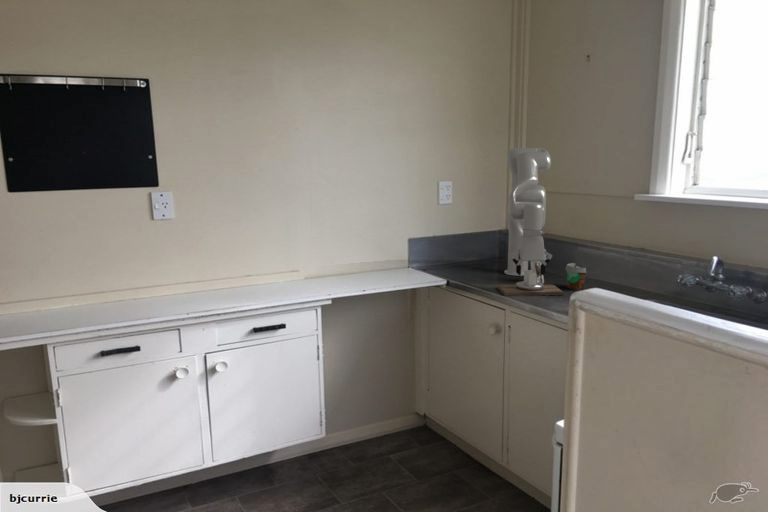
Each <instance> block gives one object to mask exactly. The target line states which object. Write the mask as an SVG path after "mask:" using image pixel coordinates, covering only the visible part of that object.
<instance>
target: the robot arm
mask: <svg viewBox="0 0 768 512" xmlns="http://www.w3.org/2000/svg"><path fill="white" fill-rule="evenodd" d="M551 157H552V156H551V154H550V153H549V151H548V150H547V149H546V148H544V147H515V148H511V149H509V150H508V152H507V163H508V166H509V169H510V173H511V190H510V193H509V195H508V196H509V197H508V213H507V224H508V249H507V250H508V251H507V252H508V253H507V269H505V270H504V271H503V273H504V274H505V275H508V276H516V277H519V276H520V277H524V270H529V262H530V261H540V262H541V263H542V265H541V268H540V274H541V275H544V276H545V273H546V266H547V265H548V264H549V263H550V261H551V259H552V258H553V254H551V253H550V252H549V251H547V250H546V251H544V249H545V244H544V241H545V240H544V237H543V236H542V235H545V234H546V231H545V230H543V229H542V228H544V226H545V224H546V216H547V214H546V212H547V192H546V191H547V190H546V188H545V187H544V186H543V185H540V184H539V176H538V175H539V173H538V172H548V171H549V170H550V168H551V165H552V158H551ZM538 184H539V185H538ZM544 254H545V255H546V260H545V261H544Z"/></svg>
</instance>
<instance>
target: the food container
mask: <svg viewBox="0 0 768 512" xmlns="http://www.w3.org/2000/svg"><path fill="white" fill-rule="evenodd" d="M565 271H566V286H567V289H568V288H569V289H568V290H571V289H574V290H573V291H578V290H577V289H579V290H583V289H585V282H586V274H587V268H586V267H581V266H578V265H576V262H574V263H573V262H571V263H567V265H566V266H565Z"/></svg>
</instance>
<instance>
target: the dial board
mask: <svg viewBox="0 0 768 512" xmlns="http://www.w3.org/2000/svg"><path fill="white" fill-rule="evenodd" d="M543 284H544V286H543V289H542V290H523V289H519V288H517V287H516V284H508V283H507V284H503V283H502V284H497V287H496V288H497V289H498V290H499V291H500V292H501V294H503V296H505V297H509V296H510V297H513V296H514V297H515V296H516V297H517V296H518V295H565V294H564V292H565V291H563V290H561V289H560V288H559V287H557V286H556V285H555V284H548V283H547V284H545V283H543ZM518 297H519V296H518Z"/></svg>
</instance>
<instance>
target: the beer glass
mask: <svg viewBox="0 0 768 512" xmlns="http://www.w3.org/2000/svg"><path fill="white" fill-rule="evenodd" d="M544 251H546V252H547V249H546V248H544ZM546 259H547V255H545V254H544V261H545V260H546ZM529 264H530V270H532V271H533V272H535V273H536V274H537V282H540V283H543V284H545V279H544V278H545V277H544V276H545V274H544V275H541V274H540V268H541V265H542V263H541V262H540V261H529Z"/></svg>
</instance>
